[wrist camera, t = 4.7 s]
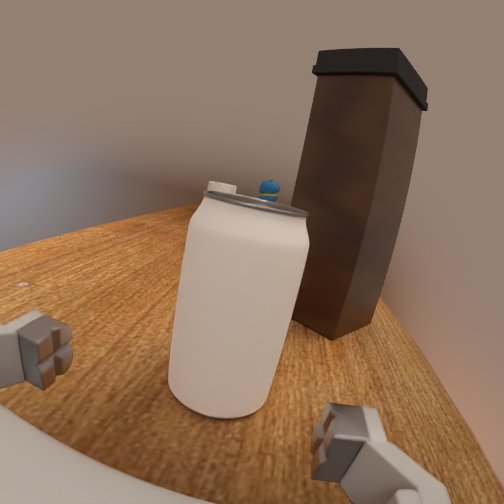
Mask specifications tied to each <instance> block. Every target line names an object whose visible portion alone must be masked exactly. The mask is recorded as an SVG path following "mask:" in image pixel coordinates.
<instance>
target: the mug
mask: <svg viewBox="0 0 504 504" xmlns="http://www.w3.org/2000/svg"><path fill="white" fill-rule="evenodd" d="M207 191H219V192H226V193H232V194H235V192H236V186H233V185H229V184H224V183H219V182H213V181H209V184H208V189H207Z"/></svg>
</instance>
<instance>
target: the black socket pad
mask: <svg viewBox="0 0 504 504" xmlns="http://www.w3.org/2000/svg"><path fill="white" fill-rule="evenodd" d="M312 73H313V74H315V75H316V76H318V75H326V74H374V75H394V76H395V77H396V78H397V79H398V80H399V81H400V82H401V84H402V85H403V86H404V87H405V88H406V90H407V91H408V92H409V93H410V95H411V96H412V97H413V98H414V100H415V101H416V102H417V104H418V105H419V106H420V107H421V109H422V110H423V111H427V109H428V103H427V102H426V100H427V91H428V88H427V87H426V85H425V84H424V82H423V81H422V79H421V78H420V76H419V75H418V73H417V72H416V70H415V69H414V68H413V66H412V65H411V64H410V62H409V61H408V59H407V58H406V57H405V55H404V54H403V53H402V51H401V50H400V49H399V48H356V49H337V50H323V51H319V53H318V58H317V63H316V65H314V66H313V70H312Z"/></svg>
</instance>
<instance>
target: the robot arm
mask: <svg viewBox="0 0 504 504" xmlns="http://www.w3.org/2000/svg"><path fill="white" fill-rule="evenodd" d="M71 339H72V333H71V328H70V327H69V326H68V325H66V324H64V323H62V322H60V321H58V320H56V319H54V318H52V317H50V316H48V315H45V314H44V313H41V312H39V311H36V310H32V311H30V312H28V313H27V314H25V315H23V316H21V317H19V318H17V319H15V320H13V321H11V322H10V323H8V324H6V325H3V324H0V389H1V388H4V387H8V386H11V385H15V384H18V383H22V382H25V381H27V382H29V383H30V384H32V385H34V386H36V387H38V388H40V389H41V390H43V391H44V390H46V389H47V388H48V387H49V386H50V385H51V384H53V383H54V382H55V380H56V376H57V375H62V374H64V373H65V372H66V371H67V370H68V369H69V367H70V365H71V363H72V358H73V350H72V348H71V346H70V344H69V341H70V340H71ZM311 453H312V454H313V455H314V457H313V459H312V461H311V479H314V480H321V481H329V482H338V483H339V485H340V486H341V487H342V489H343V490H344V492H345V493H346V494H347V496H348V497H349V498H350V500H351V501H352V503H353V504H452V502H451V500H450V497H449V494H448V492H447V489H446V486H445V485H444V484H442V483H441V482H440V481H439V480H437V479H436V478H435V477H434V476H432V475H431V474H430V473H429V472H427V471H426V470H425V469H424V468H422V467H421V466H420V465H419V464H417V463H416V462H415V461H414V460H413V459H411V458H410V457H409V456H408V455H406V454H405V453H404V452H403V451H402V450H400V449H399V448H398V447H397V446H396V445H394V444H393V443H388V441H387V438H386V434H385V431H384V428H383V425H382V422H381V419H380V416H379V412H378V410H377V409H376V408H375V407H364V406H352V405H344V404H337V403H331V402H327V403H326V405H325V407H324V409H323V411H322V421H320V422H318V423H317V425H316V427H315V429H314V432H313V435H312V439H311ZM0 504H216V503H212V502H208V501H204V500H201V499H197V498H193V497H190V496H187V495H183V494H180V493H177V492H174V491H171V490H168V489H165V488H162V487H159V486H156V485H153V484H151V483H148V482H145V481H143V480H140V479H138V478H135V477H132V476H130V475H128V474H125V473H123V472H120V471H118V470H116V469H114V468H111V467H109V466H107V465H105V464H102V463H100V462H98V461H96V460H94V459H92V458H90V457H88V456H86V455H84V454H82V453H80V452H78V451H76V450H74V449H72V448H70V447H69V446H67V445H65V444H63V443H61V442H60V441H58V440H56V439H54V438H53V437H51V436H49V435H47V434H46V433H44V432H42V431H41V430H39V429H38V428H36V427H34V426H33V425H31V424H30V423H28V422H27V421H25V420H24V419H22V418H21V417H19V416H18V415H16V414H15V413H13V412H12V411H10V410H9V409H7V408H6V407H5V406H3V405H2V404H1V403H0ZM503 504H504V503H503Z"/></svg>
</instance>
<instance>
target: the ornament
mask: <svg viewBox="0 0 504 504" xmlns="http://www.w3.org/2000/svg"><path fill="white" fill-rule="evenodd" d="M279 190H280V185H279V184H278V183H275V182H273V178H270V179H269V181H264V182H263V183H262V184H261V186H260V196H259V199H263V200H268V201H272V202H275V201H276V200H277V198H278V192H279Z"/></svg>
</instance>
